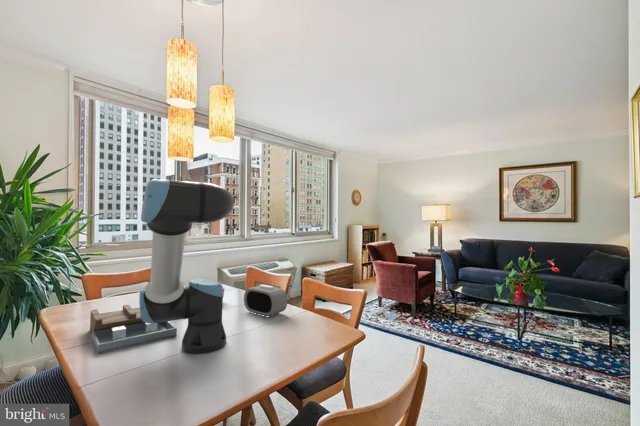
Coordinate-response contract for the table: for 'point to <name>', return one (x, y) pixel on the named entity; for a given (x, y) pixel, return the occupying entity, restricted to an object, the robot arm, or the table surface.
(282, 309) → the alarm clock
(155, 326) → the right block
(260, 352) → the table surface
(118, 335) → the left block
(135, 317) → the slot board
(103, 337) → the tray
